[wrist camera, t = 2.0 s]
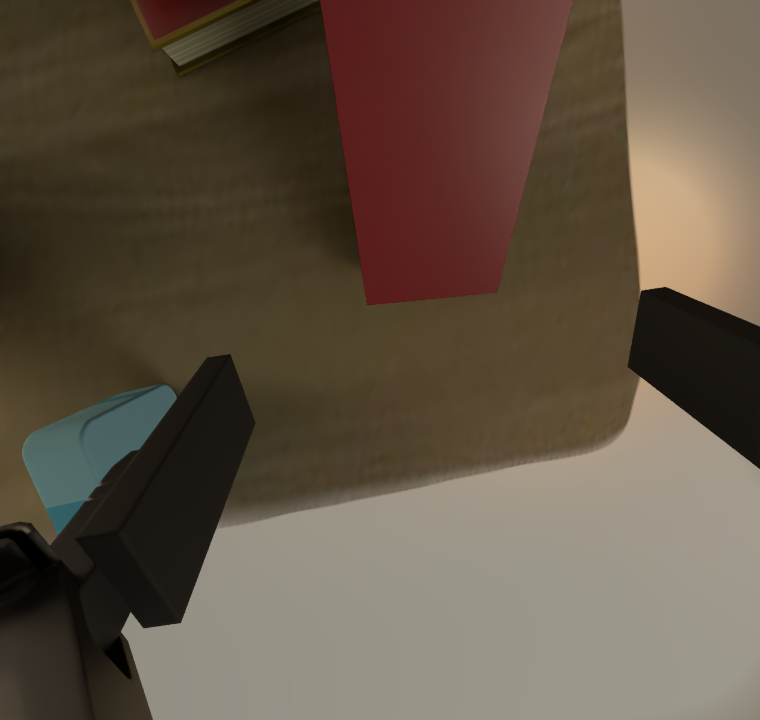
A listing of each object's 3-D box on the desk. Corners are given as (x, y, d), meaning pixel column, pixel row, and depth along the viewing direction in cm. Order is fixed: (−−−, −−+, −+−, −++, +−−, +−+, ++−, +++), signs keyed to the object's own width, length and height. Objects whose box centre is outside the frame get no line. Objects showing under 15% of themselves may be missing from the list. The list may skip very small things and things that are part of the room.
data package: (127, 389, 38) (11, 440, 26) (171, 378, 37) (74, 426, 26) (169, 498, 40) (81, 590, 28) (210, 489, 40) (139, 578, 28)
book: (320, -33, 18) (318, -9, 16) (557, -63, 18) (584, -42, 16) (365, 275, 35) (367, 305, 33) (488, 263, 35) (497, 292, 33)
